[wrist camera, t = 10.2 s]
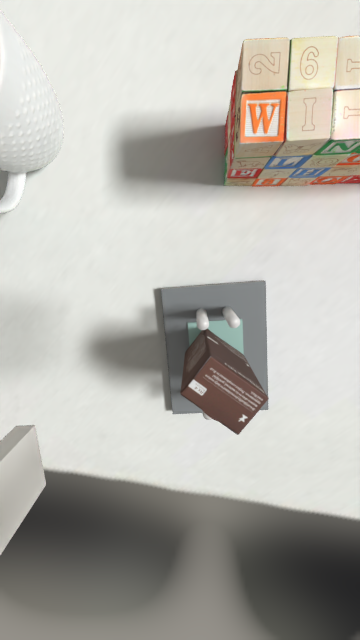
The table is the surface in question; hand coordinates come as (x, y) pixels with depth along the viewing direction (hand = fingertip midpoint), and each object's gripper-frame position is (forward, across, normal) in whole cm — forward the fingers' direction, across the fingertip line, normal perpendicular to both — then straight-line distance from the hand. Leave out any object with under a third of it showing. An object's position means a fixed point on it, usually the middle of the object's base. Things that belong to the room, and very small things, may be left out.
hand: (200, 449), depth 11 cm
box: (+23, +2, -4) cm, 23 cm away
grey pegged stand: (+24, +2, -4) cm, 25 cm away
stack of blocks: (+24, +15, +17) cm, 33 cm away
